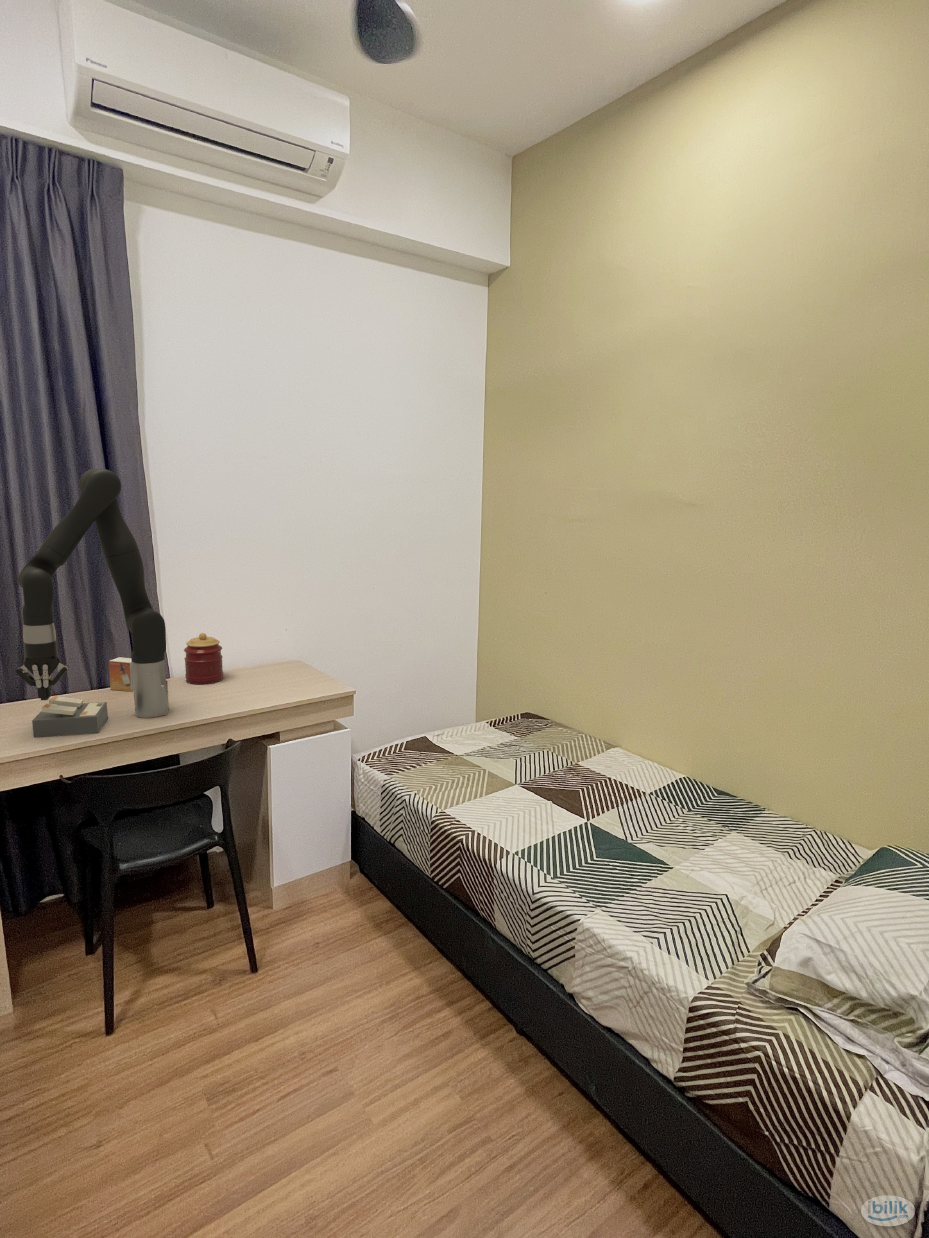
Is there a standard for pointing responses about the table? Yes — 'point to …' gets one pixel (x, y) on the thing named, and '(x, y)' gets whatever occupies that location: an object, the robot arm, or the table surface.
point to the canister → (203, 660)
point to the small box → (121, 674)
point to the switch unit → (71, 721)
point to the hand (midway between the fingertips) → (44, 699)
